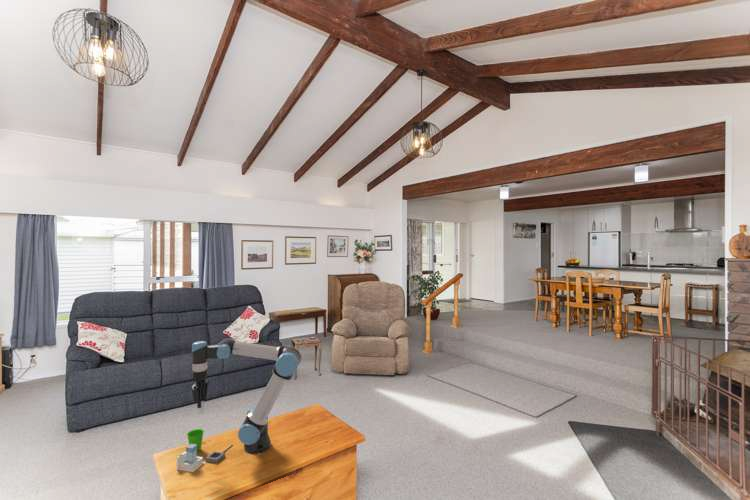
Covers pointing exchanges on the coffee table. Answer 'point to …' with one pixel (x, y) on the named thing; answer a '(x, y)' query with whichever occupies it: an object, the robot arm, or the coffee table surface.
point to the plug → (191, 453)
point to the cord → (227, 448)
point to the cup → (195, 437)
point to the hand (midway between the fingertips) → (200, 412)
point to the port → (186, 466)
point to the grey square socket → (215, 457)
